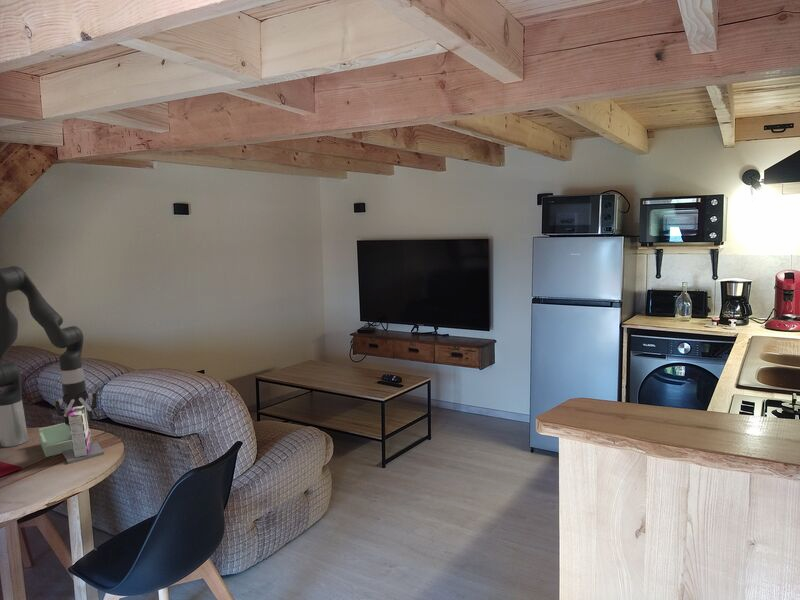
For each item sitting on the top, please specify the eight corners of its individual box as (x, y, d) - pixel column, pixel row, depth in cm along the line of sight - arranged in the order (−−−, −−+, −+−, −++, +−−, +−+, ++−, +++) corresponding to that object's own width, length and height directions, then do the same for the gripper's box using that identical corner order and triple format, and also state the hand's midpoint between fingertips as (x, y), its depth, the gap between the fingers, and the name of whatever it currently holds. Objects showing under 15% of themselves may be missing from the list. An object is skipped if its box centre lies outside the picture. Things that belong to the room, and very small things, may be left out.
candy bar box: (76, 447, 219) (71, 407, 216) (91, 444, 221) (85, 404, 218) (73, 458, 209) (67, 416, 206) (88, 455, 211) (82, 413, 208)
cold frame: (41, 445, 225) (38, 428, 224) (86, 434, 235) (83, 418, 234) (46, 457, 213) (43, 439, 212) (93, 445, 223) (90, 428, 222)
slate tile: (63, 453, 216) (62, 451, 216) (97, 444, 223) (97, 442, 223) (68, 463, 207) (67, 461, 206) (104, 454, 214) (103, 451, 214)
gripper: (92, 374, 218) (98, 415, 220) (49, 382, 209) (55, 424, 211) (96, 378, 212) (102, 420, 214) (52, 386, 203) (58, 430, 206)
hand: (78, 422), depth 213 cm, fingers open, 6 cm apart
